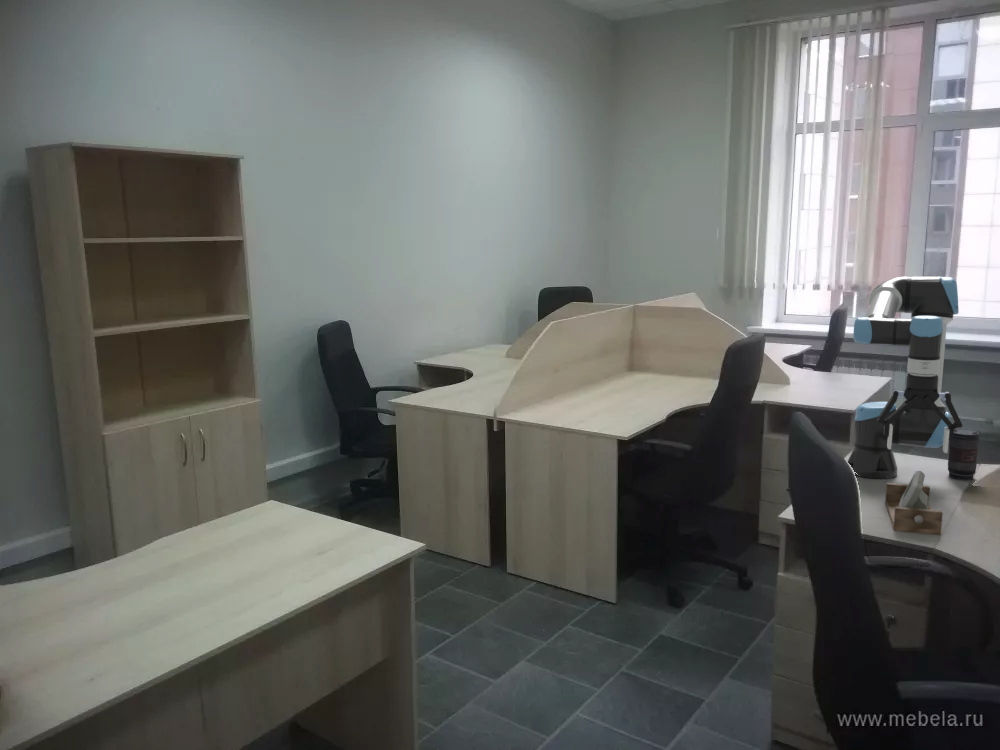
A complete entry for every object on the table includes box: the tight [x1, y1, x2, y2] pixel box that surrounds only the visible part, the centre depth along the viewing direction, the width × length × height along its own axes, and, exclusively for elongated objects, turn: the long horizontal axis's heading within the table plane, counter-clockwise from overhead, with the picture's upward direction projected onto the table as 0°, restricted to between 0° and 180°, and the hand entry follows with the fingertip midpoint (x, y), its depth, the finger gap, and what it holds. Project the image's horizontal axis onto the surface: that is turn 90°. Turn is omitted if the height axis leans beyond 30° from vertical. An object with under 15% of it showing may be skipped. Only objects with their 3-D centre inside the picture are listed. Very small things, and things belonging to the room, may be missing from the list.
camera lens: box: [947, 428, 980, 481], centre depth 245 cm, size 8×8×15 cm
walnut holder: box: [884, 482, 944, 536], centre depth 212 cm, size 11×24×6 cm, turn 159°
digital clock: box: [898, 470, 928, 509], centre depth 212 cm, size 16×9×11 cm, turn 137°
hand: (916, 449), depth 210 cm, fingers open, 13 cm apart
